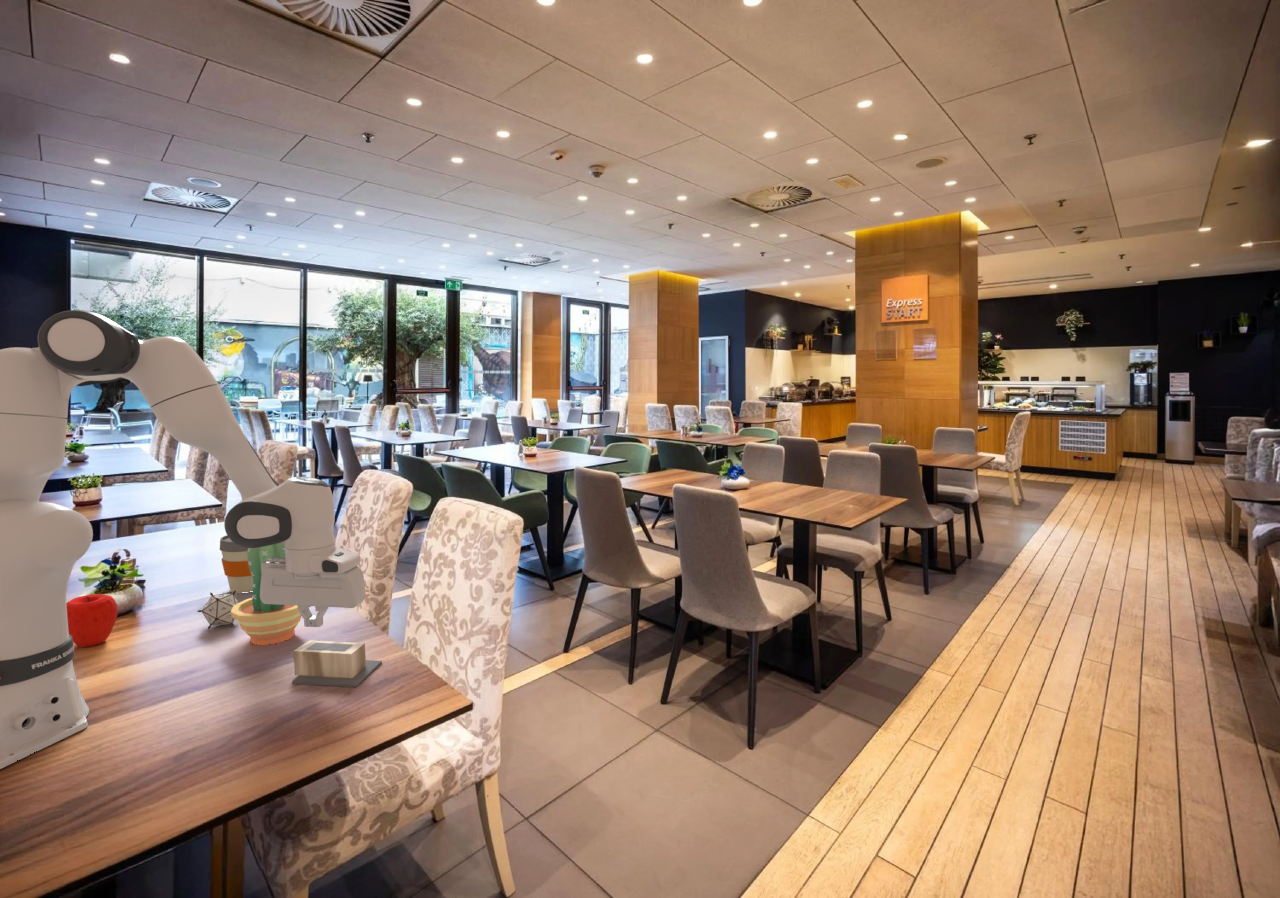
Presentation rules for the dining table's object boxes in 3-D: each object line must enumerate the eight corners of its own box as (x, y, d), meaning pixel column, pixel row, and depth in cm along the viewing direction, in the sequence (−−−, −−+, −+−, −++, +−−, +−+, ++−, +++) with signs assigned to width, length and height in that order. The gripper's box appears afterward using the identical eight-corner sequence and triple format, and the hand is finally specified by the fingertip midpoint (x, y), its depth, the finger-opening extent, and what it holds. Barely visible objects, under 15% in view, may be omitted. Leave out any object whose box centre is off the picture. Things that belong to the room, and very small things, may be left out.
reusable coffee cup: (231, 582, 175) (228, 532, 174) (280, 579, 179) (277, 529, 177) (215, 597, 164) (211, 543, 162) (268, 593, 167) (265, 540, 166)
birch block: (294, 674, 121) (352, 678, 120) (293, 650, 120) (351, 653, 119) (310, 663, 126) (365, 666, 125) (309, 640, 125) (364, 642, 124)
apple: (126, 632, 141) (122, 587, 140) (107, 648, 133) (102, 601, 131) (79, 637, 138) (75, 591, 137) (56, 654, 130) (51, 605, 129)
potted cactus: (326, 629, 144) (321, 526, 142) (267, 656, 130) (261, 542, 127) (277, 620, 149) (271, 520, 147) (215, 645, 135) (208, 535, 132)
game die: (225, 643, 145) (214, 620, 138) (196, 627, 146) (184, 604, 139) (256, 614, 151) (247, 591, 145) (228, 599, 152) (218, 576, 146)
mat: (356, 687, 118) (356, 684, 118) (292, 683, 119) (292, 681, 118) (381, 663, 128) (381, 660, 127) (322, 660, 128) (322, 658, 128)
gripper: (250, 561, 118) (253, 629, 120) (351, 565, 116) (353, 634, 118) (272, 552, 124) (275, 617, 126) (368, 556, 123) (370, 622, 124)
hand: (313, 626), depth 122 cm, fingers closed
